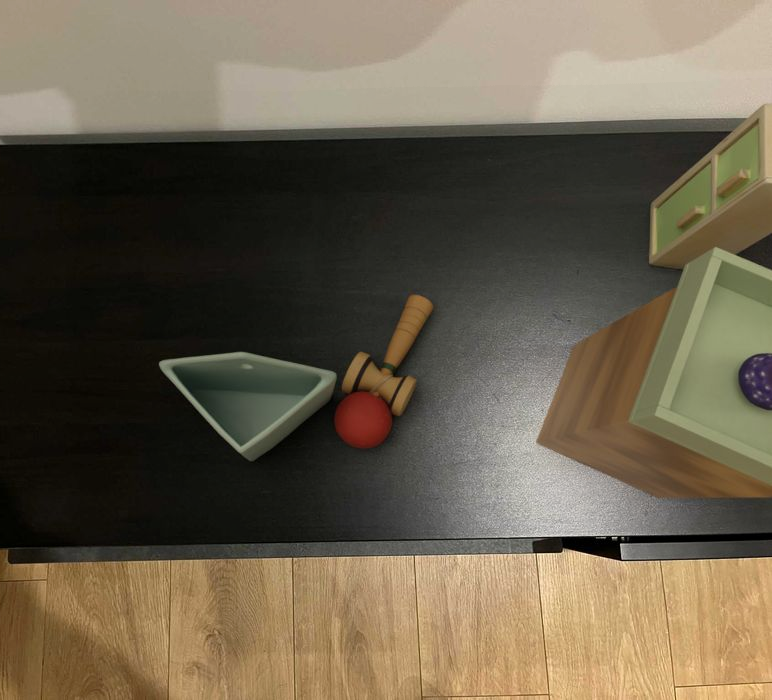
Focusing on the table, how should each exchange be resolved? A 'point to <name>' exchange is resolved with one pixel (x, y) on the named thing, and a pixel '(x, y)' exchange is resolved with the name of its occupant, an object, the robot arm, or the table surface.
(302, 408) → the planter
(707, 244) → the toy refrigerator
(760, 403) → the toy lamp
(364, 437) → the kendama
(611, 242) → the table surface
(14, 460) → the table surface
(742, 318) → the box
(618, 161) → the table surface
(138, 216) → the table surface
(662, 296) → the stand
